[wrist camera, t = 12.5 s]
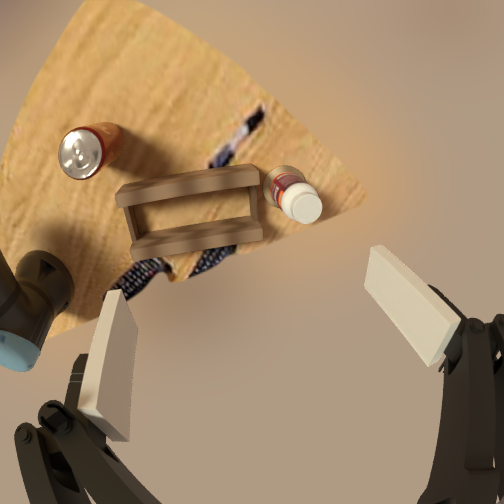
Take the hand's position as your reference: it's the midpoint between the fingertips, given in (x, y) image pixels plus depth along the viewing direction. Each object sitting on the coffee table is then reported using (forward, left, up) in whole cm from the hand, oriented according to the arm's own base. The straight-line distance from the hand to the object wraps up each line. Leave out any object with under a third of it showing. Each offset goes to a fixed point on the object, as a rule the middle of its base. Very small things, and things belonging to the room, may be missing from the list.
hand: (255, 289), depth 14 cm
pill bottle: (+13, -7, -36) cm, 38 cm away
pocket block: (-4, -8, -36) cm, 37 cm away
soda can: (-17, +6, -36) cm, 41 cm away
